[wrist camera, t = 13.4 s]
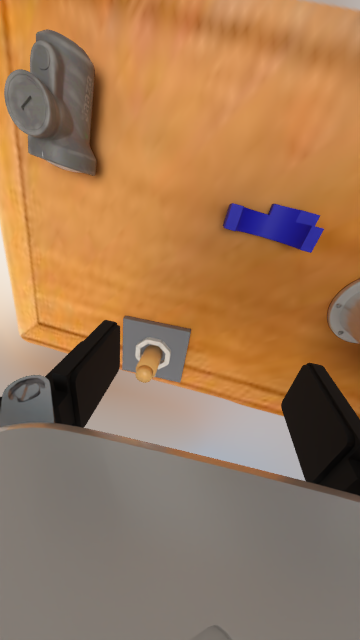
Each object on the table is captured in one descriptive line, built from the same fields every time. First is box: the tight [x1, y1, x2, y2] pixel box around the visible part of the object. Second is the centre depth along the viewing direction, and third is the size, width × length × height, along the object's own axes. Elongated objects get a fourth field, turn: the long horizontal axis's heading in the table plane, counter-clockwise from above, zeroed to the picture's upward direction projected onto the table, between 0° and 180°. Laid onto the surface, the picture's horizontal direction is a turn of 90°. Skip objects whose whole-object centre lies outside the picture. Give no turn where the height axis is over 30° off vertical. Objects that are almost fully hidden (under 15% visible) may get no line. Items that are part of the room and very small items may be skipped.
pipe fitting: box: [5, 30, 96, 176], centre depth 25 cm, size 12×8×10 cm
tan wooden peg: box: [136, 345, 163, 383], centre depth 42 cm, size 4×4×8 cm
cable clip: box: [223, 203, 324, 253], centre depth 29 cm, size 12×4×6 cm, turn 76°
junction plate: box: [122, 316, 191, 382], centre depth 46 cm, size 14×14×2 cm
